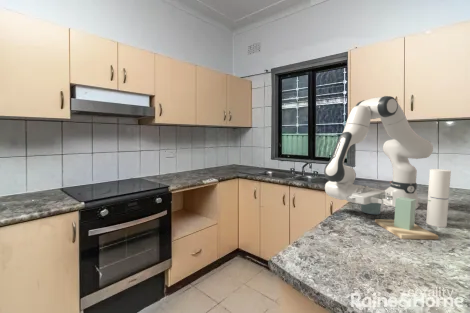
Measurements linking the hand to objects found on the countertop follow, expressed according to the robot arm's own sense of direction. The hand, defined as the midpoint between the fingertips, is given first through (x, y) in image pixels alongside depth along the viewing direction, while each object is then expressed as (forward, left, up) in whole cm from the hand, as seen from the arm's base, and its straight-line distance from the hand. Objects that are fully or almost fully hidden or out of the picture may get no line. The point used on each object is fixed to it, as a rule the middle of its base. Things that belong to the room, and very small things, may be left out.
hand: (387, 199), depth 106 cm
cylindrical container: (-2, +24, -12) cm, 27 cm away
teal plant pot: (-18, +3, -12) cm, 22 cm away
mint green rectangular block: (+6, +4, -10) cm, 12 cm away
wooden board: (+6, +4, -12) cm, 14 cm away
